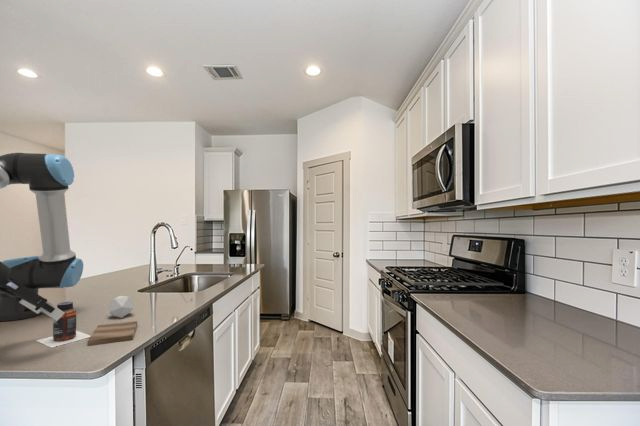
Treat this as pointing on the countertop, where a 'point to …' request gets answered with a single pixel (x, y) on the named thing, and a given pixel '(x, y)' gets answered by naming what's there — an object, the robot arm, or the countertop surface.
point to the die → (120, 306)
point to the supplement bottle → (65, 322)
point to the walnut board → (113, 333)
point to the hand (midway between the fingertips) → (50, 313)
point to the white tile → (53, 343)
